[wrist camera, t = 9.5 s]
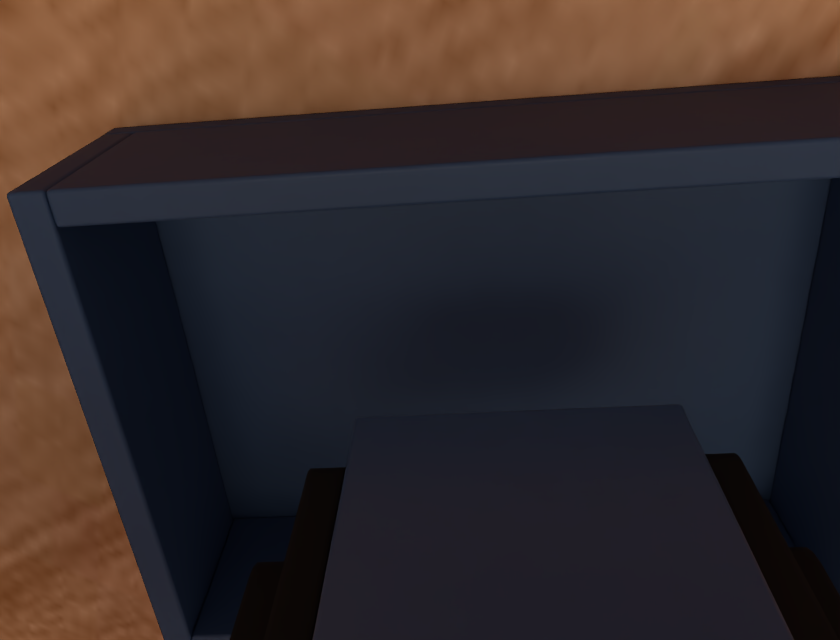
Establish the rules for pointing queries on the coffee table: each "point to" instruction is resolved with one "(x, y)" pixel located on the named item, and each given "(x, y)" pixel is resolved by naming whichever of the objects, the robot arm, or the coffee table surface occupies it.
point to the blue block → (539, 532)
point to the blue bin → (439, 298)
